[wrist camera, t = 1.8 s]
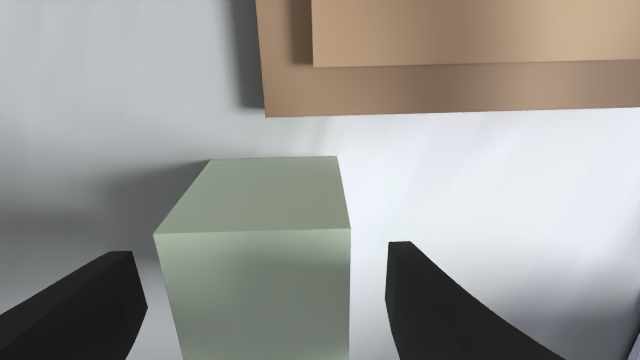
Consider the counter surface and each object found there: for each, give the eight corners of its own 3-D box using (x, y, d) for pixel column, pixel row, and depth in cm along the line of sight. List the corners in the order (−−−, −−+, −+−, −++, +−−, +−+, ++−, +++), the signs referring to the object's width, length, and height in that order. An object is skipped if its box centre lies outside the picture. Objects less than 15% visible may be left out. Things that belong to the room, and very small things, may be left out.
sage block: (336, 155, 13) (350, 228, 8) (337, 259, 14) (348, 367, 10) (211, 158, 13) (153, 233, 8) (227, 262, 14) (186, 372, 10)
